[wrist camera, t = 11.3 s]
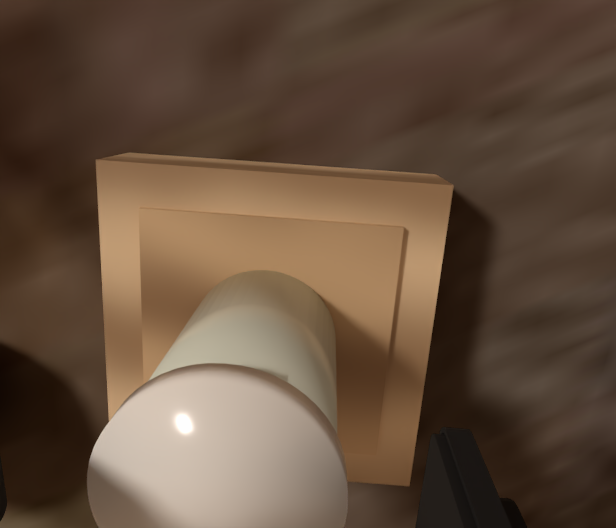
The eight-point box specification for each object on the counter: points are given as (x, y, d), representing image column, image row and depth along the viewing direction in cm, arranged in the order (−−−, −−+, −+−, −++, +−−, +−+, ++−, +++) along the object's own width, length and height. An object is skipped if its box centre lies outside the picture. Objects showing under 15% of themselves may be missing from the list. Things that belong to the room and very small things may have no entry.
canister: (186, 258, 18) (78, 371, 10) (347, 270, 18) (359, 394, 10) (187, 400, 20) (94, 589, 12) (334, 412, 20) (336, 610, 12)
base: (128, 152, 20) (92, 160, 17) (435, 174, 20) (455, 186, 17) (137, 419, 24) (108, 465, 21) (399, 440, 24) (410, 490, 21)
